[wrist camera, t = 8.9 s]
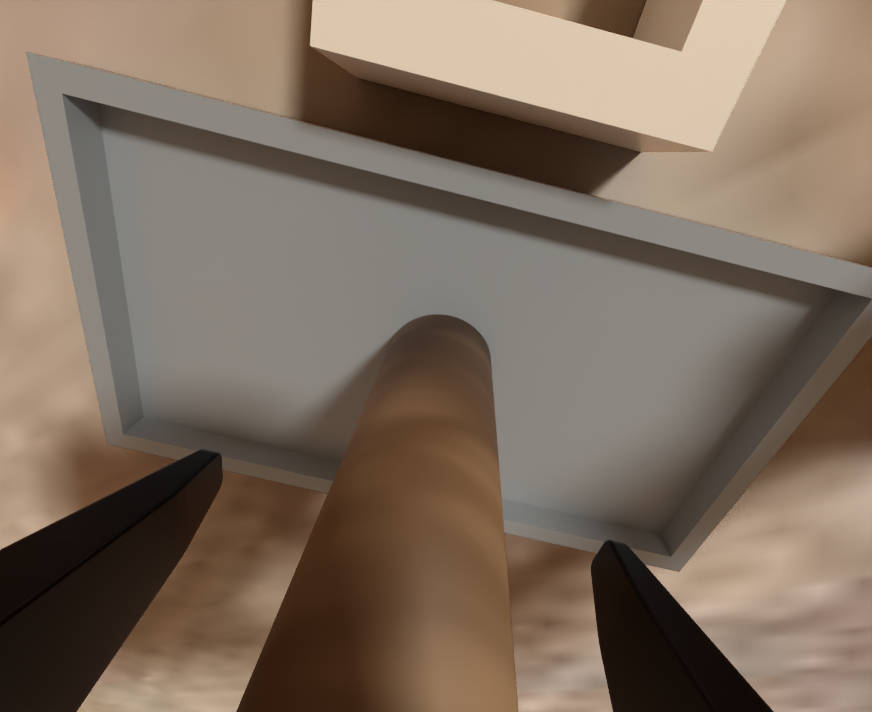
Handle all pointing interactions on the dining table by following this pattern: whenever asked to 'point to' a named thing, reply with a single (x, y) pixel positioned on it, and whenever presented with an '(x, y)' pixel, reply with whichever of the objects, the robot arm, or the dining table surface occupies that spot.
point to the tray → (428, 310)
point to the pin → (404, 550)
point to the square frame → (560, 63)
